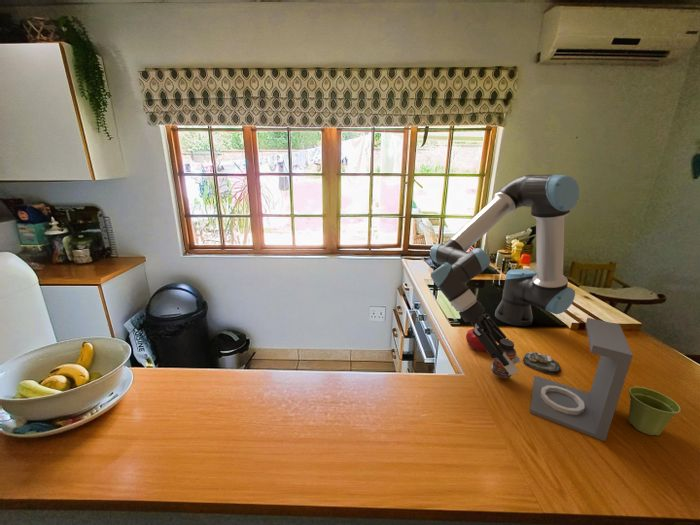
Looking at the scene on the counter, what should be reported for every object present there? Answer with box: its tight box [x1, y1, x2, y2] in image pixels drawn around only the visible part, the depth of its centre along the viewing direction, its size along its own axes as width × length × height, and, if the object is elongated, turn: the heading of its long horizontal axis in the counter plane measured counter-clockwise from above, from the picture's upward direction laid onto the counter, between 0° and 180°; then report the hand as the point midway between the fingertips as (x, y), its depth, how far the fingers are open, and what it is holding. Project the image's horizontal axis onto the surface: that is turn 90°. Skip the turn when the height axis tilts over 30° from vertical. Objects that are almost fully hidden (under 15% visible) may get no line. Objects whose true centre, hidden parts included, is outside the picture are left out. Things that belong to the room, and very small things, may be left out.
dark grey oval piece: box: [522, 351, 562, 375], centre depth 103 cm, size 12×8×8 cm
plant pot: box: [628, 386, 682, 437], centre depth 77 cm, size 9×9×9 cm
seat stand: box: [529, 317, 633, 442], centre depth 81 cm, size 18×16×24 cm
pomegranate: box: [465, 327, 488, 352], centre depth 112 cm, size 10×10×9 cm
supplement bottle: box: [491, 338, 517, 379], centre depth 94 cm, size 6×6×11 cm
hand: (515, 367), depth 93 cm, fingers closed on supplement bottle, 6 cm apart
